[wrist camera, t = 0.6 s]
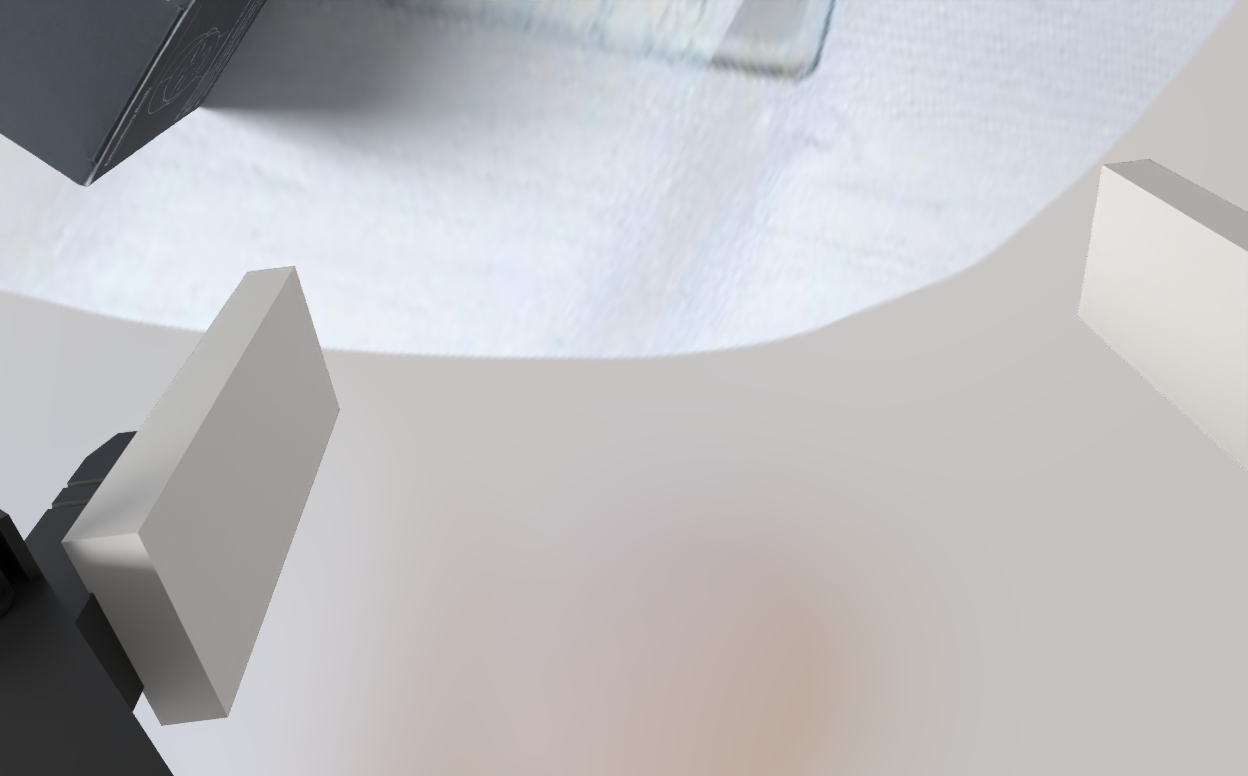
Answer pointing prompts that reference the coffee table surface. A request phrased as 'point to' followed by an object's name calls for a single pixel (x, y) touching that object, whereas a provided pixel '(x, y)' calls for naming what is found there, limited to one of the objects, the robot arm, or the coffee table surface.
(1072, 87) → the coffee table surface
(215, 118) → the coffee table surface
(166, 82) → the box
